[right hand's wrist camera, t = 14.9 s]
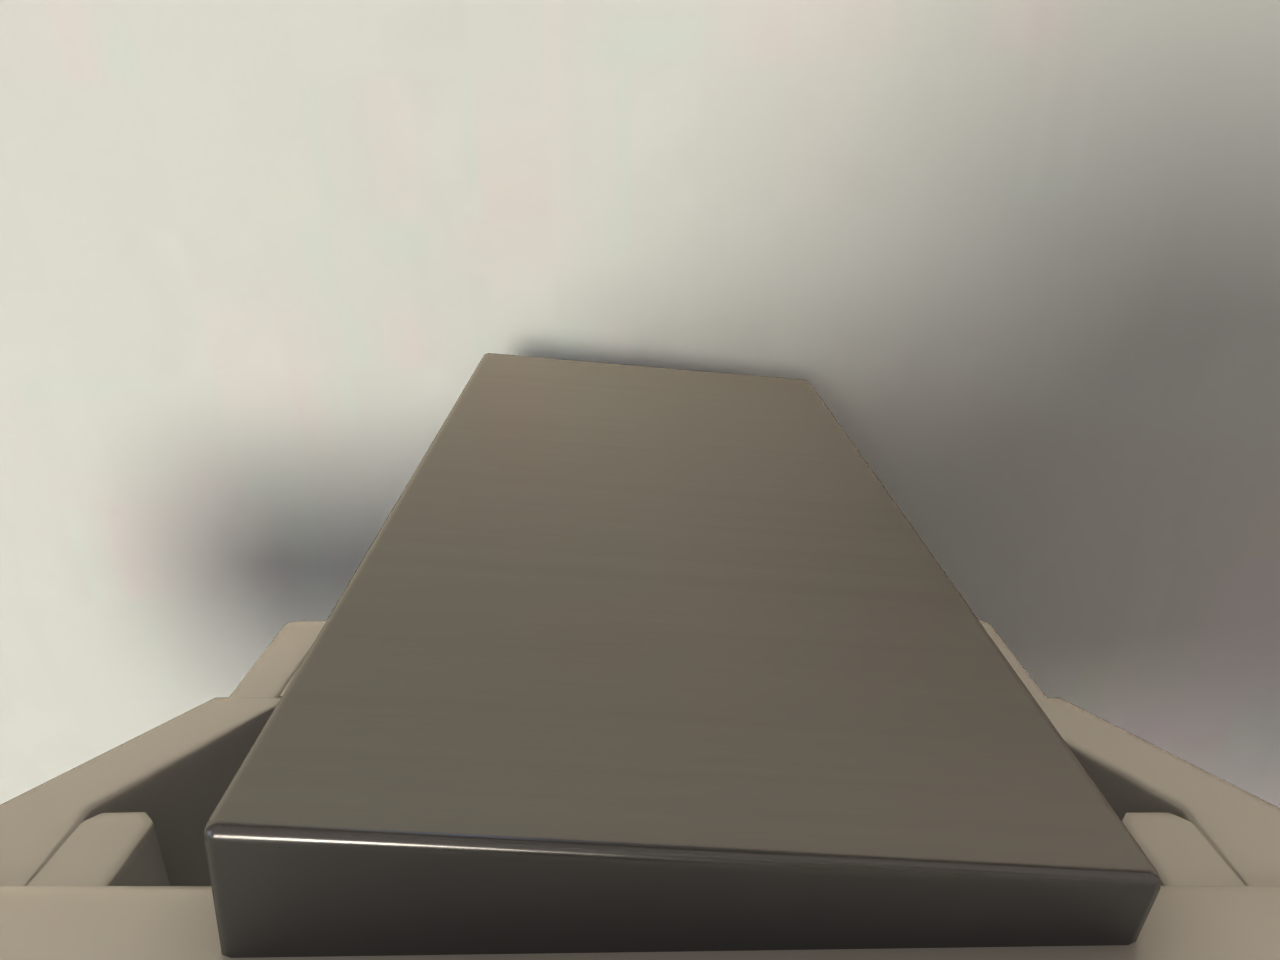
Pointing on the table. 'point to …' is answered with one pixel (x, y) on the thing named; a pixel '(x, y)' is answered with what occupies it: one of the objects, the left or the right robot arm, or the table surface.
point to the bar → (658, 707)
